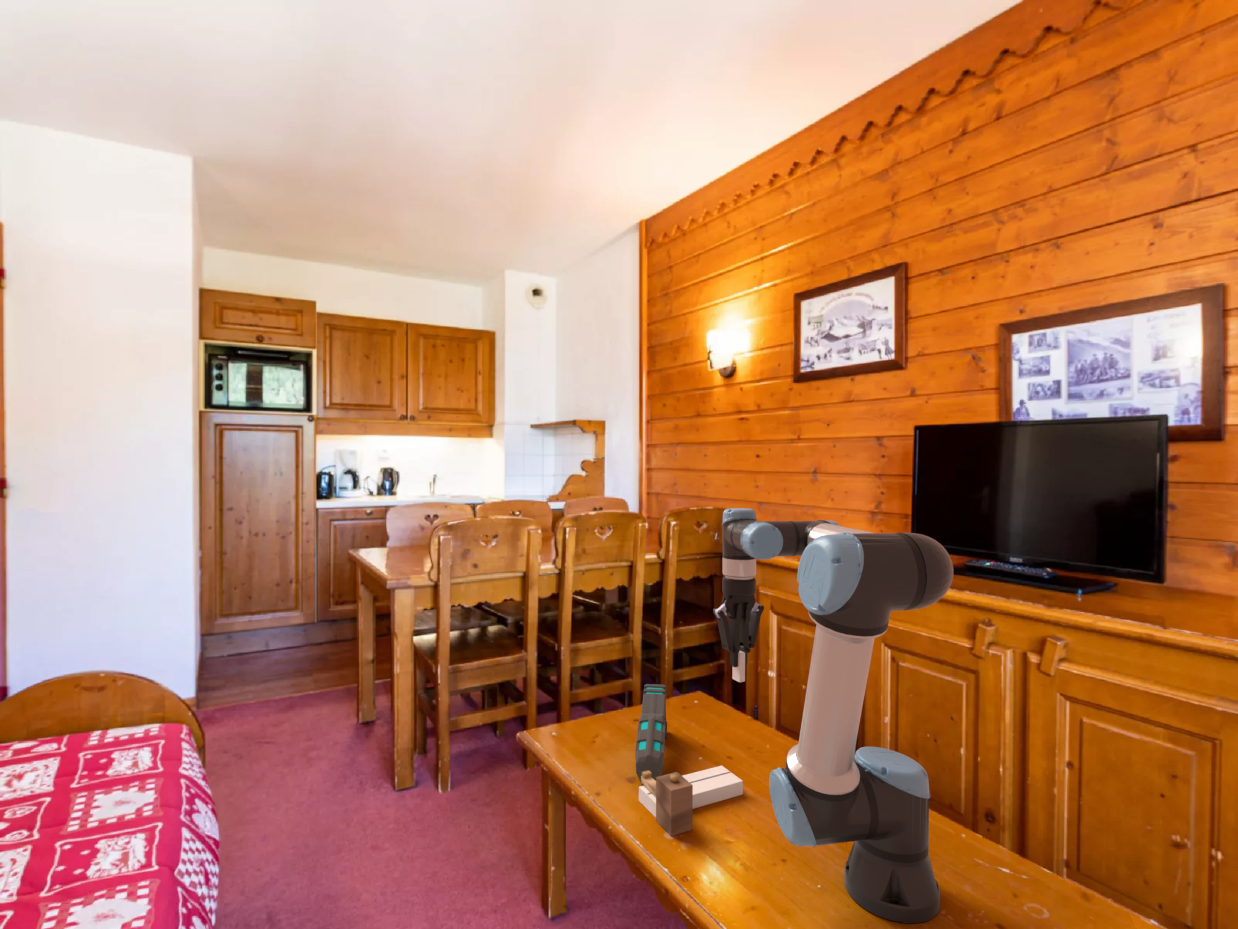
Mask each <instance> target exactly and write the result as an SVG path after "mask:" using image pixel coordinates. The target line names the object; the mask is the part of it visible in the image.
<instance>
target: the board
mask: <svg viewBox="0 0 1238 929" xmlns="http://www.w3.org/2000/svg"><path fill="white" fill-rule="evenodd" d="M681 776H682V777H684V778H685V779H686V780H687V781H688V782H690V783H691V784H692V785H693V810H694V809H697V808H700V807H705V806H707V805H711V804H714V803H718V802H722V801H725V800H728V799H731V798H736V797H739V796H742V795H744V781H743V780H742V779H741V778H740V777H738V776H736V774H734V773H732V771H730V770H728V769H727V768H726V767H724V766H723V765H719V766H714V767H710V768H706V769H703V770H699V771H696V772H691V773H688V774H682V775H681ZM638 802H640V804H642V806H643V807H645V809H646V810H647V811H649V813H650V814H652V816H653V817H654V818H655V819H656V796H655V795H654V794H653V793H652V792H651V791H650V790H649V789H648V788H647V787H645V786H644V785H640V786H638Z"/></svg>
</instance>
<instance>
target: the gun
mask: <svg viewBox="0 0 1238 929" xmlns="http://www.w3.org/2000/svg"><path fill="white" fill-rule="evenodd" d="M643 688H644V689H643V694H642V705H641V713H640V717H639V720H638V726H637V734H636V743H635V755H634V756H635V757H634V758H635V773H636V776H637V778H638V780H639V782H640V783H641V776H642V772H644V771H648V770H649V771H650V772H651V773H652V778H653V779H654V780H655V781H656V777H659V776H662V773H663V768H664V765H665V764H664V763H665V746H666V745H665V744H666V740H667V735H668V722H667V685H665V684H656V683H652V684H650V683H646V684H644V687H643Z"/></svg>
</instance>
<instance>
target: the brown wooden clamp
mask: <svg viewBox="0 0 1238 929" xmlns="http://www.w3.org/2000/svg"><path fill="white" fill-rule="evenodd" d="M682 776H683V775H681V774H680V773H679V772H677V771H675V772H672V773H667V774H664V775H661V776H659V777H656V781H655V780H654V779H653V778H652V773H651V772H650V771H649V770H648V771H644V772H642V776H641V782H640V783H641V784H642V786H645V787H647V788H648V789H649V790H650V791H651V792H652V793H653V794H654V795H655V796H656V818H655V821H656V823H658V824H659V825H660V826H661V827H662V829H664V830H665V832H666V833H667V834H668V835H669V836H671V837H674V836H677V835H680V834H683V833H686V832H690V831H692V830H693V810H694V809H693V785H692V784H691V783H690V782H688V781H687V780H686V779H685V778H684V777H682Z"/></svg>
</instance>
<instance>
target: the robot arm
mask: <svg viewBox="0 0 1238 929" xmlns="http://www.w3.org/2000/svg"><path fill="white" fill-rule="evenodd" d="M721 528H722V530H721V532H722V575H723V577H722V579H721V580H722V584H721V585H722V586H721V587H722V593H723V594H722V595H723V597H722V602H721V605H720V606H719V607H718V608H713V610H712V613H713V615H714V616H715V618H716V621H717V626H718V632H719V637H720V641H721V647H722V649H724V650H726V651H728V652H729V659H730V660H729V661H730V662H729V665H730V667H732V668H731V669H732V670H731V671H732V674H731V675H732V676H731V678H732V680H734V681H736V682H738V683H743V682H746V666H747V664H748V654H749V653H751V650H752V649H754V648H755V647H756V642H757V637H758V632H759V626H760V621H761V618H762V614H763V613H764V609H765V606H764V605H762V604H759V603H758V602H757V600H756V597H755V594H756V593H757V579H756V578H755V576H756V575H757V560H763V561H764V560H765V561H766V560H771V559H773V558H776V557H800V559H799V562H798V568H797V575H796V576H797V581H796V583H798V584H799V585H798V588H797V590H798V595H799V597H800V600H801V602H802V603H801V604H802V605H803V606H804V608H805V610H806V609H807V610H808V611H807V614H808V615H809V618H810V619H811V621H812V622H813V623H814V624H816V626H815V632H814V637H813V639H814V640H813V643H812V644H813V646H812V650H811V651H812V652H811V658H810V666H809V672H808V678H807V686H806V690H805V698H804V699H805V700H804V705H803V711H802V718H801V724H800V725H801V726H800V732H799V739H798V744H795V745H793V746H792V747H791V748H790V749H789V750H788V752H787V755H786V762H785V767H783V768H781V767H779V766H778V767H777V768H775V769H772V770H771V772H770V773H769V779H768V783H769V784H768V786H769V795H770V800H771V804H772V808H773V812H774V815H775V818H776V822H777V823H778V826H779V827H780V830H781V832H782V835H784V837H785V838H786V840H787V841H788V842H789V843H790V844H792V845H794V846H797V847H812V848H815V847H819V846H826V845H835V844H836V845H837V844H841V843H842V844H843V843H849V842H853V843H852V845H851V848H850V851H849V855H848V857H847V859H846V862H845V864H844V868H843V869H844V870H843V873H844V874H843V875H844V876H843V877H844V878H843V880H844V881H843V883H844V886H845V890H846V892H847V893H848V895H849V896H850V898H852V900H853V901H854V902H856V904H858V905H859V906H860V907H861V908H863V909H864V910H866V911H867V912H869V913H871V914H873V915H875V916H877V917H880V918H882V919H885V920H888V921H891V922H892V921H893V922H897V923H903V924H905V923H906V924H919V923H924V922H927V921H930V920H932V919H934V918H935V917H936V916H937V915H938V913H939V911H940V909H941V889H940V885H939V883H938V881H937V878H936V877H935V876H936V875H935V873H934V869H933V865H932V862H931V859H930V853H929V852H930V851H929V850H930V849H929V845H930V844H929V843H930V835H929V834H930V798H931V792H930V784H929V781H930V780H929V776H928V772H927V771H926V769H925V768H924V766H922V765H921V764H920V763H919V762H917V761H916V760H914V759H913V758H912V757H910V756H908V755H906V754H903V753H900V752H898V751H896V750H893V749H888V748H884V747H878V746H863V747H860V748H858V749H857V750H856V745H857V739H858V735H859V734H858V733H859V727H860V721H861V718H862V717H861V716H862V711H863V705H864V699H865V693H866V688H867V682H868V678H869V672H870V666H871V660H872V656H873V655H872V654H873V650H874V643H875V639H876V638H879V637H881V636H883V635H884V634H886V633H887V631H888V628H889V622H890V619H891V614H892V613H893V612H896V611H897V612H899V611H913V610H919V609H925V608H927V607H929V606H932V605H934V604H936V603H937V602H938V601H940V600H941V599H942V598H944V596H945V595H946V594H947V593H948V591H949V589H950V588H951V586H952V582H953V579H954V564H953V561H952V559H951V556H950V554H949V552H948V551H947V549H946V548H945V547H944V546H943V545H942V544H941V543H940V542H938V541H937V540H936V539H934V538H932V537H930V536H928V535H925V534H922V533H915V532H882V533H881V532H879V533H878V532H876V533H875V532H871V531H867V530H862V529H857V528H852V527H846V526H841V525H839V523H838V522H837V521H835V520H826V519H818V520H769V521H768V520H758V519H757V512H756V510H755V509H753V508H748V507H747V508H746V507H744V508H743V507H741V508H739V507H734V508H733V507H731V508H730V507H729V508H725V509H724V511H723V512H722V522H721ZM855 750H856V751H855Z"/></svg>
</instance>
